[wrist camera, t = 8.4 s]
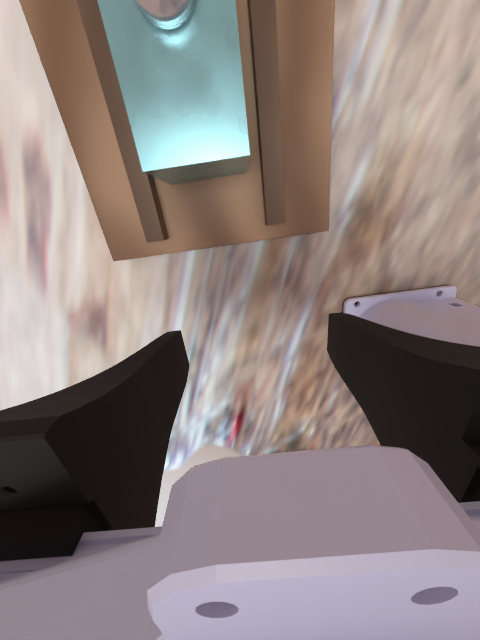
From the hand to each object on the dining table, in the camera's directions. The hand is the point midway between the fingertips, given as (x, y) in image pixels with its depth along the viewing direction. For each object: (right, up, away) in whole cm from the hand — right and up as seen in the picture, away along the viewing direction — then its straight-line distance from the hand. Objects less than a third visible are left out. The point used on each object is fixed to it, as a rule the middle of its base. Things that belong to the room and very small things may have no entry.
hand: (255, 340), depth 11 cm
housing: (-3, +14, +2) cm, 14 cm away
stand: (-3, +14, +4) cm, 15 cm away
